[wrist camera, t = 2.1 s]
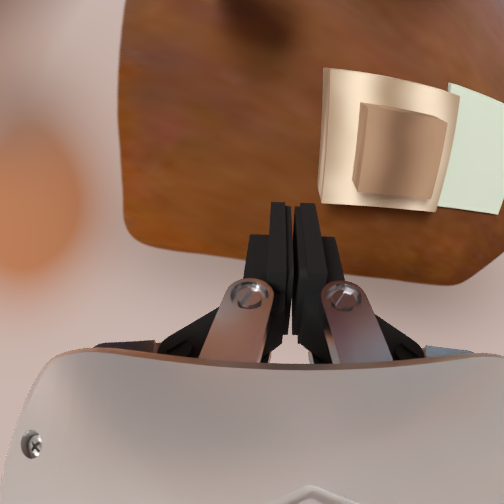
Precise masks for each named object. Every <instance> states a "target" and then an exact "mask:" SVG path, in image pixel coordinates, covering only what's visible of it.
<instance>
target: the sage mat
mask: <svg viewBox="0 0 504 504" xmlns="http://www.w3.org/2000/svg"><path fill="white" fill-rule="evenodd" d="M448 92H450V93H453V94H456V95H458V96H460V102H459V109H458V116H457V122H456V128H455V134H454V139H453V144H452V149H451V154H450V159H449V163H448V167H447V171H446V176H445V179H444V183H443V187H442V191H441V194H440V198H439V201H438V205H437V206H442V207H450V208H457V209H465V210H472V211H478V212H485V213H491V214H497V215H498V213H499V210H500V207H501V205H502V202H503V199H504V103H502V102H499V101H497V100H495V99H492V98H490V97H488V96H485V95H483V94H480V93H478V92H475V91H472V90H470V89H467V88H464V87H461V86H458V85H455V84H452V83H449V82H448Z"/></svg>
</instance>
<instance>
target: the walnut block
mask: <svg viewBox="0 0 504 504" xmlns="http://www.w3.org/2000/svg"><path fill="white" fill-rule="evenodd" d="M447 125H448V123H447V122H445V121H443V120H441V119H439V118H437V117H436V116H432V115H428V114H424V113H419V112H415V111H410V110H405V109H400V108H394V107H389V106H383V105H376V104H370V103H362V102H360V110H359V122H358V132H357V142H356V151H355V160H354V168H353V175H352V181H353V183H354V185H355V187H356V189H357V192H362V193H374V194H385V195H396V196H405V197H414V198H423V199H431V197H432V194H433V190H434V186H435V182H436V178H437V174H438V170H439V166H440V161H441V157H442V152H443V147H444V142H445V136H446V130H447Z"/></svg>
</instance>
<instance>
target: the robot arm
mask: <svg viewBox="0 0 504 504" xmlns="http://www.w3.org/2000/svg"><path fill="white" fill-rule="evenodd" d="M291 298H292V334H293V335H298V344H301V345H303V346H304V347H305V348H306V349H308V350H309V352H308V353H309V354H308V355H309V362H310V364H277V363H276V364H275V363H270V358H271V351H272V350H274V349H275V348H276V347H278V346H279V345H280V344H282V336H283V335H287V334H288V327H289V318H290V308H291ZM0 504H504V356H501V355H497V354H488V353H473V352H471V351H467V350H458V349H449V348H442V347H433V346H427V345H426V346H425V347H424V348H421V347H420V346H419V345H418V344H417V343H416V342H415V341H413V340H412V339H411V338H409V337H407V336H406V335H405V334H403V333H402V332H400V331H399V330H397V329H396V328H394V327H393V326H391V325H390V324H388V323H387V322H386V321H384V320H383V319H381V318H380V317H378V316H377V315H375V314H374V312H373V310H372V308H371V305H370V303H369V301H368V298H367V296H366V294H365V293H364V291H363V290H362V289H361V288H360V287H359V286H358V285H356V284H354V283H352V282H348V281H345V279H344V275H343V270H342V266H341V261H340V257H339V253H338V248H337V244H336V240H335V238H334V237H321V232H320V227H319V222H318V217H317V212H316V207H315V204H314V203H300V207H297V206H295V212H294V229H293V239H292V220H291V206H285V202H271V214H270V230H269V235H254V234H251V235H250V238H249V244H248V251H247V257H246V264H245V270H244V277H243V279H241V280H238V281H236V282H234V283H233V284H231V285H230V286H229V287H228V289H227V290H226V292H225V295H224V297H223V300H222V302H221V304H220V307H218V308H216V309H215V310H213V311H211V312H210V313H208V314H206V315H205V316H203V317H201V318H200V319H198V320H196V321H194V322H193V323H191V324H189V325H188V326H186V327H184V328H183V329H181V330H179V331H177V332H176V333H174V334H173V335H171V336H169V337H168V338H166V339H165V340H164V341H163V342H162V343H156V342H155V340H147V341H133V342H114V343H113V342H112V343H102V344H98V345H97V346H95V347H93V348H83V349H77V350H72V351H68V352H64V353H62V354H59V355H57V356H55V357H54V358H52V359H51V360H50V361H49V362H48V363H47V364H46V365H45V366H44V367H43V369H42V370H41V372H40V373H39V375H38V376H37V378H36V380H35V382H34V384H33V386H32V387H31V390H30V392H29V394H28V396H27V398H26V401H25V403H24V405H23V408H22V410H21V413H20V415H19V418H18V420H17V423H16V426H15V429H14V433H13V436H12V439H11V442H10V446H9V449H8V453H7V457H6V460H5V464H4V469H3V474H2V478H1V484H0Z"/></svg>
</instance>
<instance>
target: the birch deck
mask: <svg viewBox="0 0 504 504" xmlns="http://www.w3.org/2000/svg"><path fill="white" fill-rule="evenodd" d="M360 102H362V103H370V104H376V105H383V106H389V107H394V108H400V109H405V110H410V111H415V112H419V113H424V114H428V115H432V116H436V117H437V118H439V119H441V120H443V121H445V122H447V123H448V125H447V130H446V136H445V142H444V147H443V152H442V157H441V161H440V166H439V170H438V174H437V178H436V182H435V186H434V190H433V194H432V197H431V199H423V198H414V197H405V196H396V195H385V194H374V193H362V192H357V189H356V187H355V185H354V183H353V181H352V175H353V168H354V160H355V151H356V142H357V132H358V122H359V110H360ZM459 102H460V96H458V95H456V94H453V93H450V92H447V91H444V90H441V89H438V88H435V87H431V86H427V85H423V84H419V83H415V82H411V81H407V80H402V79H398V78H393V77H388V76H382V75H377V74H371V73H365V72H358V71H350V70H342V69H333V68H323V100H322V123H321V141H320V156H319V170H318V182H317V185H318V190H319V194H320V198H321V203H328V204H345V205H360V206H374V207H386V208H398V209H409V210H419V211H429V212H435V211H436V208H437V205H438V201H439V198H440V194H441V191H442V187H443V183H444V179H445V176H446V171H447V167H448V163H449V159H450V154H451V149H452V144H453V139H454V134H455V128H456V122H457V116H458V109H459Z"/></svg>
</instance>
